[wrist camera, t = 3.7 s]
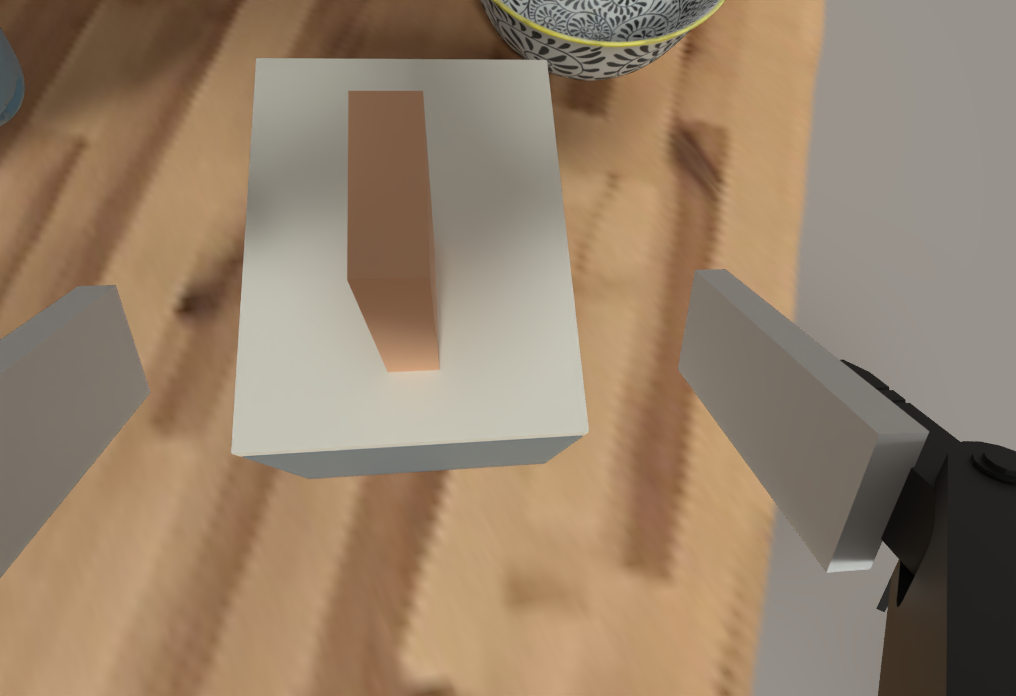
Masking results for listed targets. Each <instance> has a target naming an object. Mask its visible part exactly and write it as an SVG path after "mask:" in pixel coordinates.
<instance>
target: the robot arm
mask: <svg viewBox="0 0 1016 696" xmlns="http://www.w3.org/2000/svg"><path fill="white" fill-rule="evenodd" d="M24 94H25V83H24V76H23V72H22V69H21V66H20V63H19V61H18V59H17V57H16V55H15V53H14V51H13V49H12V47H11V45H10V43H9V41H8V40H7V38H6V36H5V34H4V33H3V31H2V29H1V28H0V126H2V125H4V124H5V123H7V122H8V121H9V120H11V119H12V118H13V117H14V116H15V115H16V113H17V112H18V111H19V109H20V107H21V105H22V102H23V99H24ZM678 370H679V371H680V373H681V374H682V376H683V377H684V378H685V380H686V381H687V382H688V384H689V385H690V387H691V388H692V389H693V391H694V392H695V393H696V395H697V396H698V397H699V399H700V400H701V402H702V403H703V404H704V406H705V407H706V408H707V410H708V411H709V412H710V414H711V415H712V417H713V418H714V419H715V421H716V422H717V423H718V425H719V426H720V428H721V429H722V430H723V432H724V433H725V434H726V436H727V437H728V438H729V440H730V441H731V443H732V444H733V445H734V447H735V448H736V449H737V451H738V452H739V454H740V455H741V456H742V458H743V459H744V460H745V462H746V463H747V464H748V466H749V467H750V469H751V470H752V471H753V473H754V474H755V475H756V477H757V478H758V479H759V481H760V482H761V484H762V485H763V486H764V488H765V489H766V490H767V492H768V493H769V495H770V496H771V497H772V499H773V500H774V501H775V503H776V504H777V505H778V507H779V508H780V510H781V511H782V512H783V514H784V515H785V516H786V518H787V519H788V520H789V522H790V523H791V525H792V526H793V527H794V529H795V530H796V531H797V533H798V534H799V536H800V537H801V538H802V540H803V541H804V542H805V544H806V545H807V547H808V548H809V549H810V551H811V552H812V553H813V555H814V556H815V557H816V559H817V560H818V561H819V563H820V564H821V566H822V567H823V568H824V570H825V571H826V572H838V571H851V570H863V569H870V568H871V566H872V564H873V562H874V559H875V557H876V555H877V552H878V550H879V548H880V545H881V543H882V541H883V542H884V543H885V544H886V545H887V546H888V547H889V548H890V549H891V550H892V552H893V553H894V554H895V555H896V556H897V557H898V558H899V561H898V563H897V565H896V567H895V569H894V572H893V574H892V576H891V578H890V580H889V583H888V585H887V587H886V589H885V591H884V593H883V596H882V598H881V600H880V602H879V604H878V606H877V609H878V610H881V611H883V612H885V610H886V608H887V607H888V611H887V620H886V629H885V638H884V646H883V647H884V648H883V656H882V665H881V673H880V682H879V691H878V696H1016V451H1013V450H1010V449H1007V448H1005V447H1002V446H999V445H994V444H989V443H984V442H973V441H971V442H970V441H963V442H960V441H958V440H957V439H956V438H955V437H953V436H952V435H951V434H949V433H948V432H947V431H945V430H944V429H943V428H941V427H940V426H939V425H938V424H936V423H935V422H934V421H932V420H931V419H930V418H929V417H927V416H926V415H925V414H923V413H922V412H921V411H919V410H918V409H917V408H915V407H914V406H913V405H911V404H910V403H906V402H905V399H904V398H903V397H901V396H900V395H899V394H897V393H896V392H895V391H893V390H889V387H888V386H887V385H886V384H884V383H883V382H882V381H880V380H879V379H878V378H876V377H875V376H874V375H873V374H871V373H870V372H868V371H866V370H864V369H862V368H860V367H858V366H855V365H853V364H851V363H849V362H847V361H845V360H839V359H838V358H836V357H835V356H834V355H833V354H831V353H830V352H829V351H828V350H826V349H825V348H824V347H823V346H821V345H820V344H819V343H818V342H816V341H815V340H814V339H813V338H811V337H810V336H809V335H807V334H806V333H805V332H804V331H802V330H801V329H800V328H799V327H797V326H796V325H795V324H794V323H792V322H791V321H790V320H789V319H787V318H786V317H785V316H784V315H782V314H781V313H780V312H779V311H777V310H776V309H775V308H774V307H772V306H771V305H770V304H769V303H767V302H766V301H765V300H764V299H762V298H761V297H760V296H759V295H757V294H756V293H755V292H753V291H752V290H751V289H750V288H748V287H747V286H746V285H745V284H743V283H742V282H741V281H740V280H738V279H737V278H736V277H735V276H733V275H732V274H731V273H730V272H728V271H727V270H726V269H714V270H695V273H694V279H693V285H692V291H691V296H690V302H689V308H688V314H687V320H686V325H685V331H684V337H683V343H682V348H681V354H680V360H679V366H678ZM149 394H150V390H149V387H148V384H147V381H146V378H145V374H144V371H143V368H142V365H141V362H140V359H139V356H138V353H137V350H136V347H135V344H134V340H133V337H132V334H131V331H130V328H129V325H128V322H127V319H126V316H125V313H124V309H123V306H122V303H121V300H120V297H119V294H118V291H117V288H116V285H107V286H78V287H76V288H75V289H73V290H72V291H70V292H69V293H68V294H66V295H65V296H63V297H62V298H60V299H59V300H57V301H56V302H55V303H53V304H52V305H50V306H49V307H47V308H46V309H44V310H43V311H41V312H40V313H39V314H37V315H36V316H34V317H33V318H31V319H30V320H28V321H27V322H26V323H24V324H23V325H21V326H20V327H18V328H17V329H15V330H14V331H12V332H11V333H10V334H8V335H7V336H5V337H4V338H2V339H1V340H0V578H1V577H2V575H3V574H4V573H5V572H6V570H7V569H8V568H9V567H10V565H11V564H12V563H13V562H14V560H15V559H16V558H17V557H18V556H19V554H20V553H21V552H22V551H23V549H24V548H25V547H26V546H27V544H28V543H29V542H30V541H31V539H32V538H33V537H34V536H35V535H36V533H37V532H38V531H39V530H40V528H41V527H42V526H43V525H44V523H45V522H46V521H47V520H48V518H49V517H50V516H51V515H52V514H53V512H54V511H55V510H56V509H57V507H58V506H59V505H60V504H61V502H62V501H63V500H64V499H65V497H66V496H67V495H68V494H69V493H70V491H71V490H72V489H73V488H74V486H75V485H76V484H77V483H78V481H79V480H80V479H81V478H82V476H83V475H84V474H85V473H86V472H87V470H88V469H89V468H90V467H91V465H92V464H93V463H94V462H95V460H96V459H97V458H98V457H99V455H100V454H101V453H102V452H103V451H104V449H105V448H106V447H107V446H108V444H109V443H110V442H111V441H112V439H113V438H114V437H115V436H116V434H117V433H118V432H119V431H120V430H121V428H122V427H123V426H124V425H125V423H126V422H127V421H128V420H129V418H130V417H131V416H132V415H133V413H134V412H135V411H136V410H137V409H138V407H139V406H140V405H141V404H142V402H143V401H144V400H145V399H146V397H147V396H148V395H149Z"/></svg>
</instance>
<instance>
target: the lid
mask: <svg viewBox="0 0 1016 696" xmlns="http://www.w3.org/2000/svg"><path fill="white" fill-rule="evenodd" d="M588 432H589V428H588V419H587V410H586V401H585V392H584V383H583V375H582V366H581V357H580V348H579V339H578V330H577V322H576V313H575V304H574V295H573V286H572V277H571V269H570V260H569V251H568V242H567V233H566V224H565V216H564V207H563V198H562V189H561V180H560V171H559V162H558V154H557V145H556V136H555V127H554V118H553V109H552V101H551V92H550V83H549V74H548V65H547V60H481V59H321V58H256V71H255V86H254V102H253V118H252V134H251V149H250V165H249V181H248V197H247V212H246V228H245V244H244V260H243V275H242V291H241V307H240V323H239V338H238V354H237V370H236V386H235V402H234V417H233V433H232V449H231V454H234V455H237V456H254V455H270V454H287V453H303V452H319V451H336V450H352V449H368V448H384V447H401V446H417V445H433V444H450V443H466V442H482V441H498V440H515V439H531V438H547V437H564V436H580V435H585V434H587V433H588Z"/></svg>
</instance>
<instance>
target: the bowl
mask: <svg viewBox="0 0 1016 696" xmlns="http://www.w3.org/2000/svg"><path fill="white" fill-rule="evenodd" d="M480 1H481V3H482V5H483V8H484V10H485V12H486V14H487V16H488V18H489V20H490V21H491V23H492V25H493V26H494V28H495V29H496V31H497V32H498V34H499V35H500V36H501V37H502V38H503V40H504V41H505V42H506V43H507V44H508V45H509V46H510V47H511V48H512V49H513V50H514V51H515V52H516V53H517V54H519V55H520V56H521V57H522V58H524V59H525V60H547V65H548V72H549V73H552V74H556V75H558V76H561V77H566V78H570V79H576V80H604V79H610V78H615V77H619V76H623V75H626V74H629V73H632V72H635V71H637V70H639V69H641V68H643V67H645V66H647V65H648V64H650V63H652V62H654V61H655V60H657V59H658V58H659V57H661V56H662V55H664V54H665V53H666V52H667V51H668V50H670V49H671V48H672V47H673V46H674V45H675V44H677V43H678V42H679V41H680V40H681V39H682V38H683V37H684V36H685V35H686V34H687V33H688V32H690V31H691V30H692V29H693V28H695V27H696V26H698V25H700V24H701V23H702V22H704V21H705V20H707V19H708V18H709V17H710V16H711V15H712V14H713V13H714V12H715V11H716V10H717V9H718V8H719V7H720V6H721V5H722V4H723V3H724V1H725V0H480Z"/></svg>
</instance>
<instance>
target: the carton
mask: <svg viewBox="0 0 1016 696" xmlns="http://www.w3.org/2000/svg"><path fill="white" fill-rule="evenodd" d="M581 437H582V435H580V436H564V437H547V438H531V439H515V440H498V441H482V442H466V443H450V444H433V445H417V446H401V447H384V448H368V449H352V450H336V451H319V452H303V453H287V454H270V455H254V456H243V458H246V459H249V460H252V461H255V462H259V463H262V464H265V465H268V466H271V467H274V468H277V469H280V470H283V471H286V472H289V473H292V474H295V475H298V476H301V477H304V478H307V479H316V478H331V477H346V476H361V475H376V474H392V473H407V472H422V471H437V470H452V469H467V468H482V467H498V466H513V465H528V464H543V463H546V462H547V461H549V460H550V459H552V458H553V457H554V456H556V455H557V454H559V453H560V452H561V451H563V450H564V449H566V448H567V447H568V446H570V445H571V444H573V443H574V442H575V441H577V440H578V439H580V438H581Z"/></svg>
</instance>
